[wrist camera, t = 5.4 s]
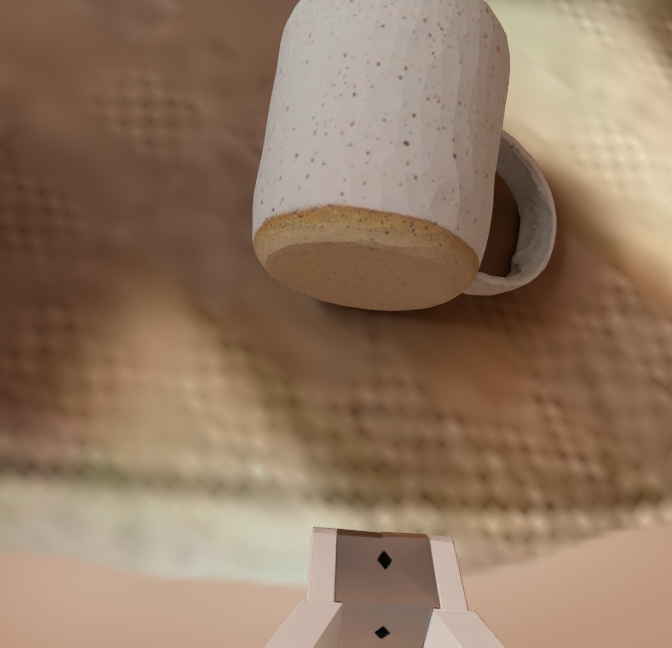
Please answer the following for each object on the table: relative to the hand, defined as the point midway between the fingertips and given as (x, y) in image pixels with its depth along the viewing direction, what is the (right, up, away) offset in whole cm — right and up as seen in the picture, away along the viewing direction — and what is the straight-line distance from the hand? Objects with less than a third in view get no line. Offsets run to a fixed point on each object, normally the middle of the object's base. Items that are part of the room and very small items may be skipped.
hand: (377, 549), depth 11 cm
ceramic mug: (+2, +9, +9) cm, 13 cm away
